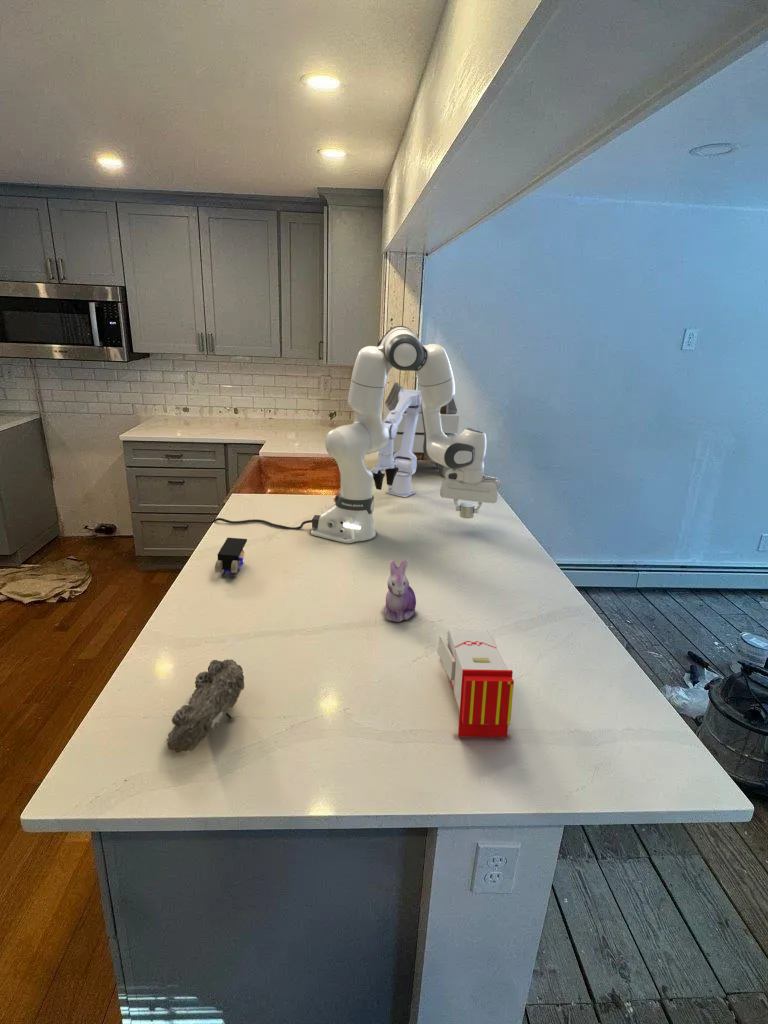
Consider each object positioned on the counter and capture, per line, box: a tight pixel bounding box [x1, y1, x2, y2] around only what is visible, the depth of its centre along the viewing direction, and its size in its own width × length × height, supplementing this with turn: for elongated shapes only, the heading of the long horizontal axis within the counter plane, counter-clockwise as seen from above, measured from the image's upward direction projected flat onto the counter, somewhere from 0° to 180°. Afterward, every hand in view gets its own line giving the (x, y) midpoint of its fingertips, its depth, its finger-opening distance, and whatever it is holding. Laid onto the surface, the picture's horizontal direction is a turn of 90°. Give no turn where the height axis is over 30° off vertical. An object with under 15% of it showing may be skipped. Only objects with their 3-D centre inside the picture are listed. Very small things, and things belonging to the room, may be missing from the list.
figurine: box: [384, 558, 417, 623], centre depth 145 cm, size 9×10×15 cm
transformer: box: [383, 382, 460, 477], centre depth 277 cm, size 34×33×41 cm
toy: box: [437, 628, 515, 738], centre depth 117 cm, size 12×13×30 cm
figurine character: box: [214, 537, 248, 578], centre depth 166 cm, size 7×8×15 cm
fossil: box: [166, 658, 245, 754], centre depth 106 cm, size 22×10×15 cm
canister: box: [459, 501, 476, 520], centre depth 203 cm, size 5×5×4 cm
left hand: (466, 511), depth 203 cm, fingers closed on canister, 5 cm apart
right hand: (384, 487), depth 224 cm, fingers open, 7 cm apart
